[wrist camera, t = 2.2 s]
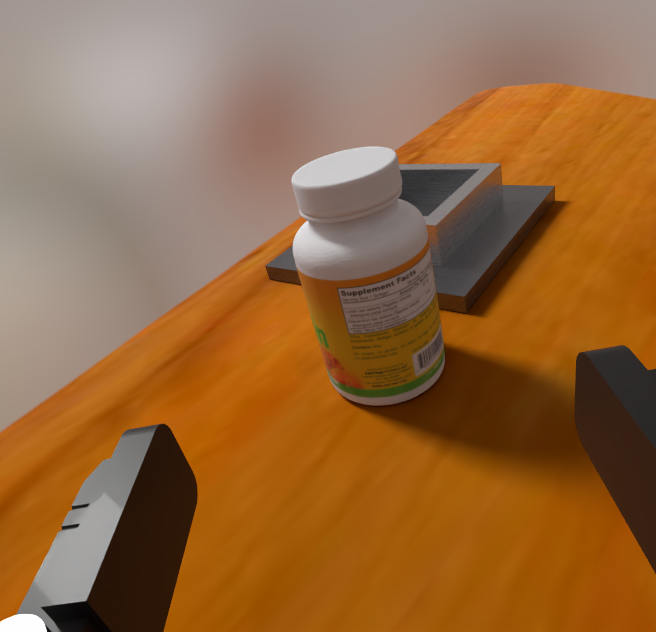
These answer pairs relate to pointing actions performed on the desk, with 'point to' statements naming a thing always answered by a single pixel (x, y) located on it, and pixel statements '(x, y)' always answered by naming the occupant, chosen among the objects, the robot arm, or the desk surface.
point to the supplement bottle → (368, 277)
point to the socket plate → (460, 226)
